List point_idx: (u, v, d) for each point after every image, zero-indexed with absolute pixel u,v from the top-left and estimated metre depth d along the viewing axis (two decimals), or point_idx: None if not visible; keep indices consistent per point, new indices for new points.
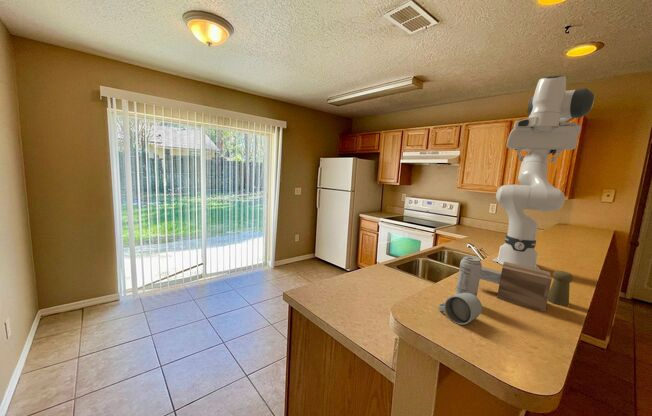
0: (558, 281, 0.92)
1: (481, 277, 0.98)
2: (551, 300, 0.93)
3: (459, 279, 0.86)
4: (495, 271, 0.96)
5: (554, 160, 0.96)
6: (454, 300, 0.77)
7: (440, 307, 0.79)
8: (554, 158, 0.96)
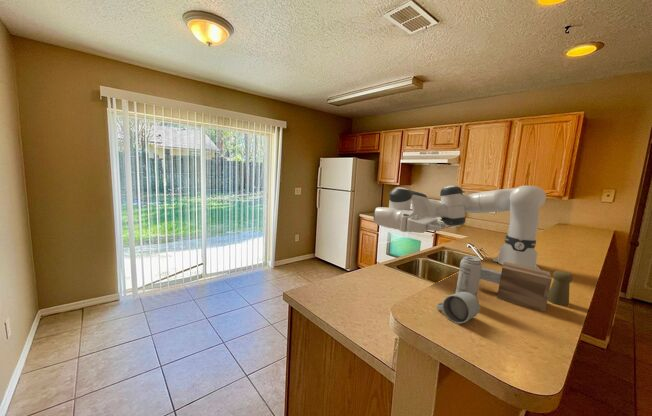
0: (558, 281, 0.92)
1: (481, 277, 0.98)
2: (551, 300, 0.93)
3: (459, 279, 0.86)
4: (495, 271, 0.96)
5: None
6: (452, 299, 0.77)
7: (438, 306, 0.80)
8: (442, 223, 1.10)
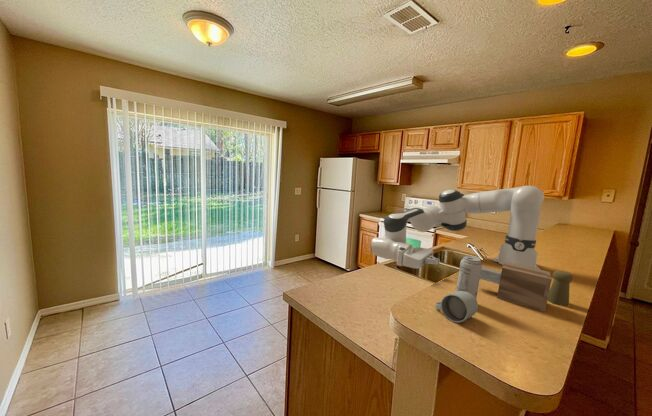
0: (558, 281, 0.92)
1: (481, 277, 0.98)
2: (551, 300, 0.93)
3: (459, 279, 0.86)
4: (495, 271, 0.96)
5: (438, 259, 1.09)
6: (450, 298, 0.77)
7: (437, 305, 0.80)
8: (436, 258, 1.09)
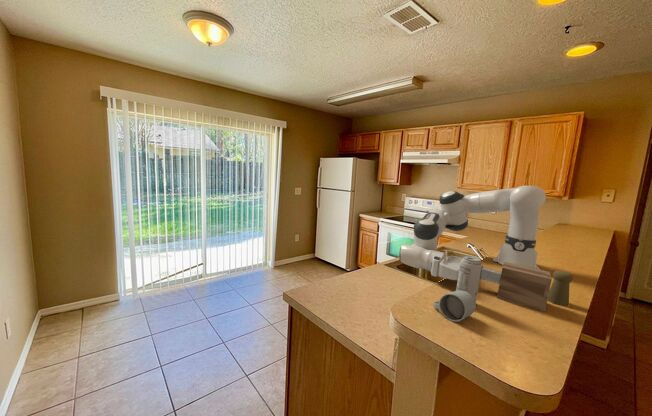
0: (558, 281, 0.92)
1: (484, 278, 0.97)
2: (551, 300, 0.93)
3: (459, 279, 0.86)
4: (498, 272, 0.96)
5: None
6: (449, 298, 0.78)
7: (435, 304, 0.81)
8: None
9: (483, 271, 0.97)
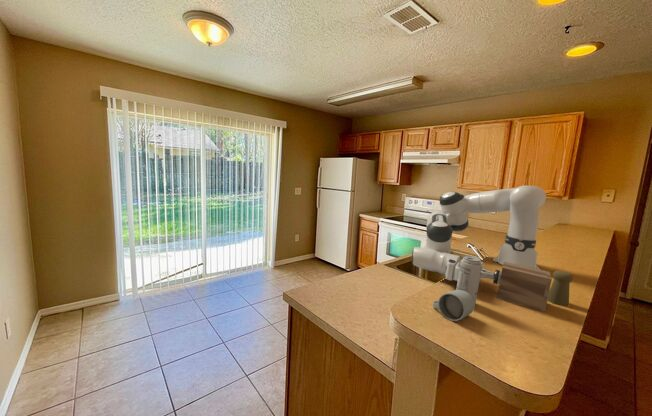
0: (558, 281, 0.92)
1: None
2: (551, 300, 0.93)
3: (459, 279, 0.86)
4: None
5: None
6: (447, 297, 0.78)
7: (434, 304, 0.81)
8: (490, 272, 0.98)
9: (500, 275, 0.94)
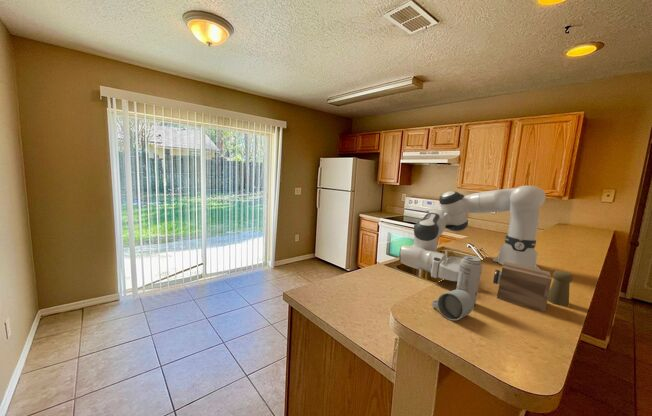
0: (558, 281, 0.92)
1: None
2: (551, 300, 0.93)
3: (459, 279, 0.86)
4: None
5: None
6: (447, 297, 0.78)
7: (433, 304, 0.81)
8: None
9: (500, 275, 0.94)
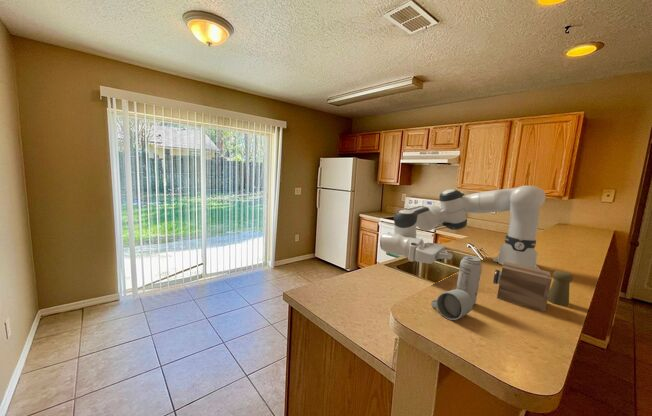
0: (558, 281, 0.92)
1: None
2: (551, 300, 0.93)
3: (459, 279, 0.86)
4: None
5: None
6: (446, 296, 0.78)
7: (432, 303, 0.81)
8: (449, 253, 1.06)
9: (500, 275, 0.94)
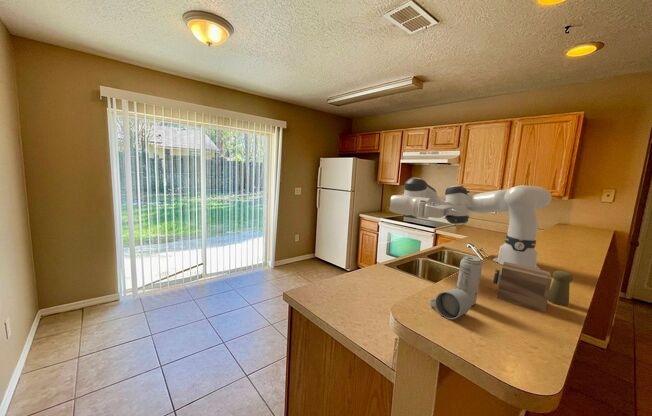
0: (558, 281, 0.92)
1: None
2: (551, 300, 0.93)
3: (459, 279, 0.86)
4: None
5: (459, 210, 1.08)
6: (444, 296, 0.79)
7: (431, 303, 0.82)
8: (457, 210, 1.09)
9: (500, 275, 0.94)
